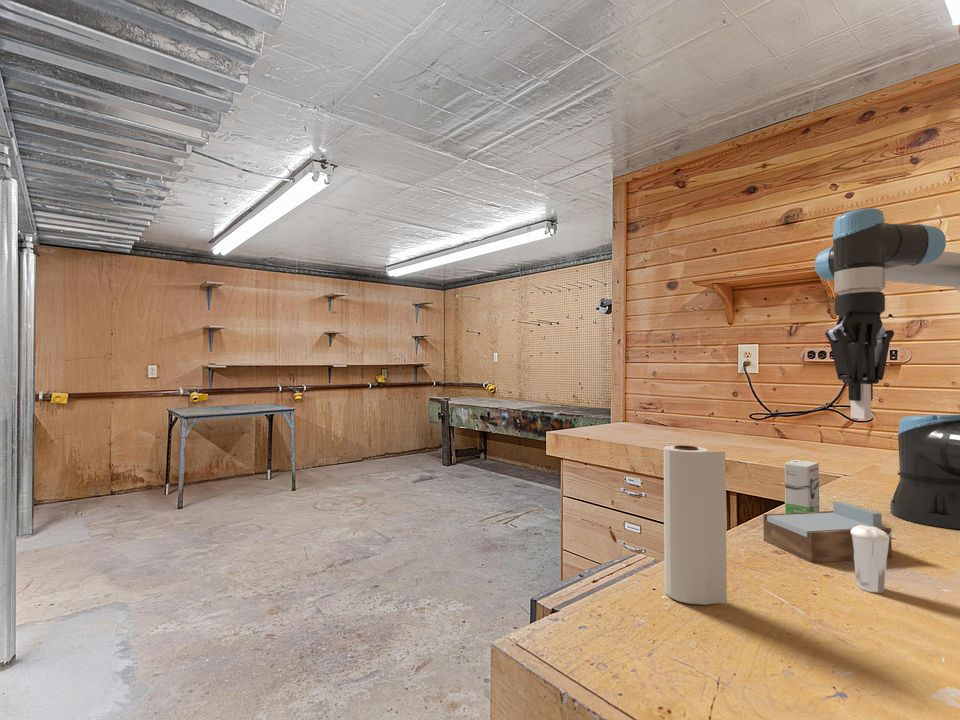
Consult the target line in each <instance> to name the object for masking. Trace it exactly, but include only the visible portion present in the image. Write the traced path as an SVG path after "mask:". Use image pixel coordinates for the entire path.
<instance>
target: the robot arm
mask: <svg viewBox="0 0 960 720" xmlns="http://www.w3.org/2000/svg"><path fill="white" fill-rule="evenodd" d="M885 221H886V220H885V218H884V212H883V211H882V210H881V209H878V208H874V207H873V208H869V207H867V208H859V209H854V210H850V211H847V212H844V213H842V214H840V215H839V216H838V215H837V217H836V218H835V219H834V221H833V232H832V233H833V235H832V244H833V245H832V246H830V247H827V248H826V249H823V250H821V251H820V252H818V254H817V256H816V257H815V260H814V269H815V273H816V274H817V275H818V276H819V278H821V279H823V280H825V281H829V282H830V281H831V282H832V281H834V282H833V283H834V285H833V287H834V289H833V291H834V293H835V294H837V295H836V296H835V297H834V300H833V302H834V315H836V316H838V319H837V321H836V324H835V325H836V326H835V327H833V328H831V329H826V330H825V332H824V335H825V336H826V338H827V340H828V342H829V343H830V344H829V345H830V348H831V350H830V351H831V353H832V357H833V363H834V365H835V366H834V368H835V371H836V376H837V380H839V381H842V383H844V384H847V385H848V387H847V388H848V393H847V394H848V400H849V401H850V419H859V420H872V401H873V399H874V396H873V395H874V390H873V385H874V384H879V383H880V381H882V380H883V379H884V376H885V369H886V364H887V361H888V359H887V358H888V353H889V350H890V349H889V348H890V344H891V341H892V339H893V337H894V335H895V332H894V330H893V329H889V330H887V329H886V328H885V327H883V321H882V319H881V314H882V313H884V312H885V311H886V295H885V294H884V292H882V291H884V290H885V288H886V282H892V283H904V284H915V285H925V286H938V287H946V288H947V287H949V288H953V289H954V290H956V291H958V292H960V252H955V251H945V249H946V244H947V240H946V239H947V237H946V235H945V233H944V232H943V230H942V229H941V228H939V227H937V226H935V225H934V226H933V225H924V224H922V223H921V224H920V223H917V224H908V223H907V224H906V223H905V224H904V223H888V222H885ZM898 423H899V424H898V432H897V437H898V438H897V440H898V443H897V444H898V462H899V463H898V464H899V482H898V483H897V486H896V489H895V491H894V493H893V496H892V499H891V500H890V502H889V503H890V506H889V507H890V508H889V509H890V513H891V514H892V515H893V516H895V517H897V518H899V519H903V520H904V521H905V520H906V521H909V522H914V523H918V524H922V525H926V526H927V525H928V526H933V527H940V528H946V529H955V530H960V414H924V415H921V414H920V415H908V416H904V417H902V418H901V419H900V421H899V422H898Z"/></svg>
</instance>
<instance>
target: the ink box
mask: <svg viewBox="0 0 960 720" xmlns="http://www.w3.org/2000/svg"><path fill="white" fill-rule="evenodd" d="M819 465H820V463H819V462H817V461H811V460H810V461H809V460H800V459H793V460H788V461H786V462H784V506H785V507H784V509H785V511H784V513H802V512H820V473H819V472H820V467H819Z"/></svg>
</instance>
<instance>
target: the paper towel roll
mask: <svg viewBox="0 0 960 720" xmlns="http://www.w3.org/2000/svg"><path fill="white" fill-rule="evenodd" d="M726 475H727V474H726V451H710V450H709V449H708V448H705V447H701V446H695V445H694V446H693V445H683V444H682V445H666V446H663V527H664V528H663V535H664V537H663V542H664V544H663V547H664V548H663V550H664V553H663V554H664V555H663V556H664V557H663V558H664V560H663V561H664V591H665V594H666V595H667V596H668V597H669V598H671V599H673V600H676V601H678V602H680V603H684V604H691V605H703V606H704V605H705V606H708V605H713V604H726V605H727V603H728V597H727V596H728V593H727V589H728V588H727V587H728V585H727V580H728V579H727V577H728V576H727V499H726V498H727V495H726V493H727V492H726V491H727V490H726V489H727V487H726V478H727V477H726Z"/></svg>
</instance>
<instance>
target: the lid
mask: <svg viewBox="0 0 960 720" xmlns="http://www.w3.org/2000/svg"><path fill="white" fill-rule="evenodd" d="M832 504H833V505H832V508H833V510H832V511H833V512H832V513H812V514H792V515H771V516H767V521H768V522H771V523H773V524H776V525H778V526H781V527H783V528H785V529H788V530H790V531H793V532H795V533H798V534H800V535H803V536H805V537H809V532H819V531H837V530H851V529H852V528H853V527H855V526H859V525H865V526H869V527H876V528H887V527H886V526H885V525H883V524H882V523H883V521H882V517H883V516H882V515H883V514H882V513H880V512H878V511H875V510H872V509H871V510H870V509H868V508H864V507H860V506H857V505H855V504H851V503H848V502H843V501H833V502H832Z"/></svg>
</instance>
